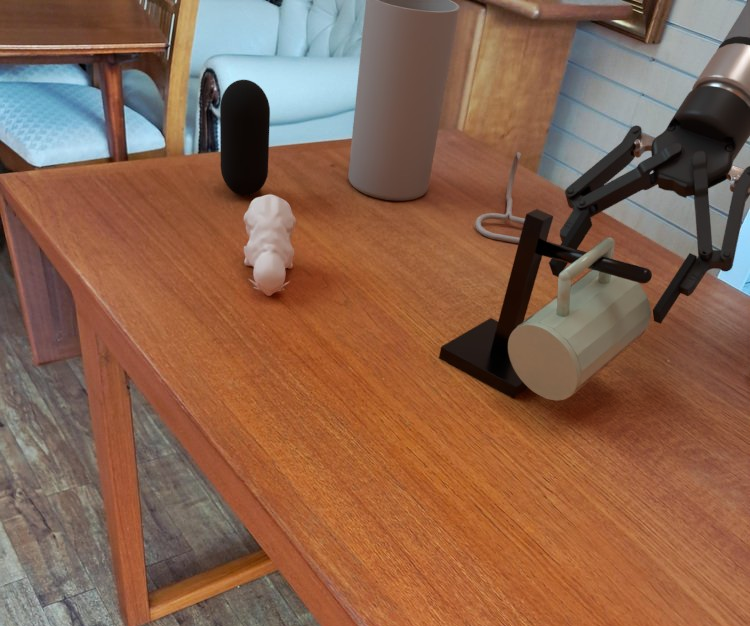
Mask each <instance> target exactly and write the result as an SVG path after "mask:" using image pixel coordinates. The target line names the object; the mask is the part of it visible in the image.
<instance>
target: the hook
mask: <svg viewBox="0 0 750 626" xmlns="http://www.w3.org/2000/svg"><path fill="white" fill-rule="evenodd" d="M521 156H522V153H521V152H520V151H517V152H515V155H514V157H513V160H512V165H511V168H510V173H509V177H508V182H507V186H506V187H507V188H506V194H505V202H506V212H505V213H496V212H488V213H484V214H481V215H479V216H478V217H477V218H476V219H475V223H474V225H475V229H476V230H477V231H478V232H479V234H480V235H482V236H484V237H486V238H489V239H491V240H497V241H502V242H506V243H507V242H508V243H513V244H517V245H518V244H519V240H520V237H517V236H513V235H507V234H506V235H505V234H501V233H495V232H492V231H489V230H487V229H485V227H483V226H482V222H484V221H486V220H499V221H506V220H507V219H508V220H509V221H510V222H512V223H517V224H521V225H522V226H523V225H524V221H525V217H520V216H519V217H518V216H515V215H513V198H512V194H513V193H512V192H513V188H514V186H513V185H514V181H515V177H516V173H517V168H518V164H519V161H520V159H521Z"/></svg>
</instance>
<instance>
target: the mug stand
mask: <svg viewBox="0 0 750 626" xmlns="http://www.w3.org/2000/svg"><path fill="white" fill-rule="evenodd" d="M524 219H525V221H524V225H523V224H522V229H521V233H520V236H519V238H520V240H519V244H518V243H517V247H516V252H515V255H514V260H513V263H512V267H511V271H510V275H509V279H508V283H507V286H506V290H505V294H504V297H503V302H502V306H501V310H500V313H499V317H498V320H496V319H494V318H493V317H489V318H488V319H486V320H485V321H483V322H481V323H480V324H478V325H476V326H474V327H473V328H471V329H470V330H467V331H466V332H464V333H462V334H459V336H456V337H455V338H453V339H452V340H450V341H448V342H447V343H445V344H444V345H441V346H440V350H439V355H438V358H439V359H440V360H441V361H443V362H446V363H447V364H450V365H451V366H453V367H455V368H457V369H458V370H459V371H462V372H464V373H466V374H467V375H469V376H472V378H475V379H476V380H479V381H481V382H482V383H483V384H486V385H488V386H489V387H491V388H493V389H495V390H497V391H498V392H499V393H502V394H504V395H506V396H507V397H510V398H512V399H515V398H516V397H517V396H519V395H520V394H522V393H523V392H525V391H526V390H527V389H529V388H528V387H527V386H526V385H525V384H524V383H523V381H522V380H521V379H520V378H519V376H518V375H517V373H516V372H515V370H514V368H513V366H512V364H511V361H510V358H509V353H508V341H509V337H510V335H511V333H512V332H513V330H514V329H516V328H517V326H518V325H520V324H521V323H522V322H524V321H525V318H526V315H527V310H528V308H529V304H530V301H531V300H530V299H531V297H532V293H533V290H534V287H535V283H536V279H537V275H538V272H539V269H540V265H541V261H542V259H543V257H546V258H549V259H552V258H553V259H556V260H560V261H563V262H567V263H568V264H569V265H571V264H572V263H574V262H575V261H576V260H577V259H579V258H580V257H581V256H583V255H584V254H585V253H587V252H588V251H584V250H580V249H578V248H577V249H573V248H570V247H566V246H562V245H561V244H560V243H559V244H558V243H554V242H551V241H548V237H549V234H550V231H551V227H552V223H553V219H554V215H552V214H551V213H548V212H545V211H543V210H540V209H538V208H536V209H533V210H531V211H529V212H527V213H525V217H524ZM587 269H588V270H595V271H599V272H602V273H606V274H610V275H613V276H617V277H620V278H624V279H627V280H631V281H634V282H638V283H639V284H643V285H644V284H647V283H649V282H651V280H652V278H653V274H652V271H651V269H649V268H648V267H644V266H639V265H636V264H632V263H629V262H625V261H622V260H618V259H614V258H613V259H610V258H607V257H603V256H602V257H601V258H600V259H599V260H597V261H596V262H595V263H593V264H592V265H591V266H589V267H588V268H587Z"/></svg>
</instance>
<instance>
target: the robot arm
mask: <svg viewBox="0 0 750 626" xmlns="http://www.w3.org/2000/svg"><path fill="white" fill-rule="evenodd" d="M642 130H643V129H642V127H641V126H640V125H636V124H635V125H633V126H631V128H629V130H628V131H627V133H626V134H625V136H624V138H623V139H622V141H621V142H620V143H619V144H617V145H616V146H615V147H614V148H612V150H610V151H609V152H608V153H607V154H606V155H604V156H603V157H602V158H601V159H600V160H598V162H596V163H595V164H594V165H593V166H591V167H590V168H589V169H588V170H587V171H585V172H584V173H583V174H581V176H579V177H578V178H577V179H575V181H573V182H572V183H571V184H570V185H569V186H568V187H566V188H565V190H564V195H565V199H566V202H567V207H568V208H569V209H572V212H571V213H570V214H569V216H568V218H567V219H566V221H565V222H564V224H563V225H562V227H561V228H560V229H559V230H560V231H559V238H560V241H561V243H560V245H562V246H566V247H570V248H573V249H577V250H578V248H579V247H580V245H581V244H582V242H583V240H584V239H585V237H586V236H587V234H588V233H589V232H590V229H591V228H592V227H593V222H592V218H593V217H594V216H596V215H597V214H600V213H601V212H604V211H605V210H607V209H609V208H611V207H613V206H615V205H617V204H618V203H620V202H622V201H624V200H626V199H628V198H630V197H631V196H634V195H635V194H638V193H639V192H642V191H649V190H650V189H652V188H654V187H656V186H658V187H657V188H658V189H661V190H663V191H669V192H673V193H675V194H677V195H678V196H679V197H682V198H684V199H687V197H693V202H694V203H693V204H694V214H695V227H696V228H695V229H696V230H695V231H696V243H697V255H698V256H697V255H696V254H693V253H691V252H689V253H688V254H687V256H686V258H685V260H683V263H682V264H681V265H680V267H679V268H678V270H677V272H676V273H675V275H674V277H673V278H672V279H671V281H670V282H669V283H668V285H667V287H666V288H665V290H664V292H662V295H661V296H660V298H659V300H657V302H656V304H655V305H654V307H653V308H652V316H653V321H654V322H655V323H658V324H659V325H661V324H662V323H663V321H664V320H665V318H666V316H667V315H668V314H669V311H671V309H672V307H673V306H674V305H675V302H676V301H677V299H678V298H679V297H680V295H683V296H686V297H690V296H691V295H692V294H693V293H694V292H695V291H696V289H697V287H698V285H699V284H700V283H701V281H702V280H703V278H704V276H705V275H706V273H707V272H708V271H710V270H713V269H716V270H717V269H718V270H720V271H722V272H729V271H731V270H732V268H733V265H734V261H735V257H736V252H737V247H738V242H739V237H740V231H741V227H742V226H741V225H742V223H743V222H742V221H743V217H744V212H745V207H746V203H747V200H748V199H749V197H750V165H749V166H747V167H745V168H742V167H740V166H736V165H733V163H734V161H735V160H736V158H737V156H738V155H739V153H740V152H741V150H742V149H743V148H744V145H746V142H747V141H748V139H749V138H750V0H746V3H745V5H744V6H743V8H742V9H741V12H740V13H739V15H738V16H737V18H736V19H735V21H734V23H733V24H732V26H731V28H730V29H729V31H728V32H727V34H726V36H725V38H724V39H723V40H722V43H720V44H719V46H718V48H717V49H716V51H715V53H713V55H712V56H711V58H710V60H709V61H708V63H707V64H706V66H704V69H702V71H701V73H700V75H698V77H697V79H696V80H695V82H694V84H693V86H692V89H691V91H689V92H688V93H687V94H686V96H685V98H684V99H683V101H682V103H681V104H680V106H679V107H678V109H677V110H676V112H675V114H674V115H673V116H672V118H671V119H670V121H669V123H668V125H667V126H666V129H665V130H664V131H663V132H661V133H660V134H659V135H656V137H655V136H652V135H650V134H646V133H643V131H642ZM646 152H651V156H650V157H648V158H646V159H643V160H642V161H640V162H639V163H638V164H637V166H636V167H635V168H633V169H631V170H630V171H627V172H625V173H623V174H622V175H620V176H618V177H616V176H617V175H618V174H619V173H621V172H622V171H623V170H624V169H625V168H627V166H629V165H630V164H631V163H632V162H633V160H635V158H637V159H638V158H640V157H641V156H643V154H644V153H646ZM615 177H616V178H615ZM613 178H614V179H613ZM612 179H613V180H612ZM726 180H728V181H729V191H730V192H731V193H732V195H731V200H730V206H729V210H728V215H727V220H726V225H725V229H724V234H723V239H722V243H721V247H720V248H721V249H720V250H717V249H714V247H713V238H712V237H713V236H712V224H711V213H710V212H711V211H710V210H711V209H710V198H709V197H710V195H709V189H710V188H713V187H715V186H717V185H718V184H721V183H723V182H726ZM548 264H549V268H550V271H551V274H552V275H553V276H555V277H557V278H558V277H559V274H560V272H562V271H563V270H564V269H566V268H567V266H568V264H569V263H567V262H563V261H560V260H556V259H553V258H550V260H549V262H548Z"/></svg>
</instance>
